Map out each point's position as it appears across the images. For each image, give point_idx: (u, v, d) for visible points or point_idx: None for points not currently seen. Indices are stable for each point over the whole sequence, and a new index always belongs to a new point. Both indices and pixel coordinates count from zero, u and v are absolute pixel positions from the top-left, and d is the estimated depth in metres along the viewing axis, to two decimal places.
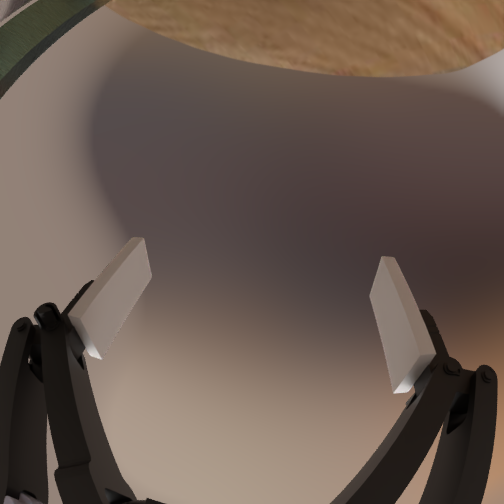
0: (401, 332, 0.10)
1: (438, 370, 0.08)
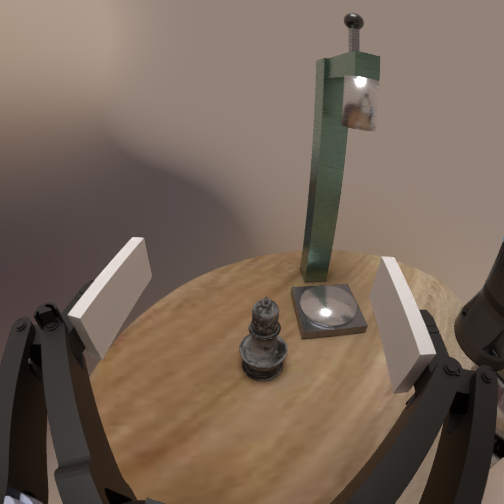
0: (401, 332, 0.10)
1: (438, 370, 0.08)
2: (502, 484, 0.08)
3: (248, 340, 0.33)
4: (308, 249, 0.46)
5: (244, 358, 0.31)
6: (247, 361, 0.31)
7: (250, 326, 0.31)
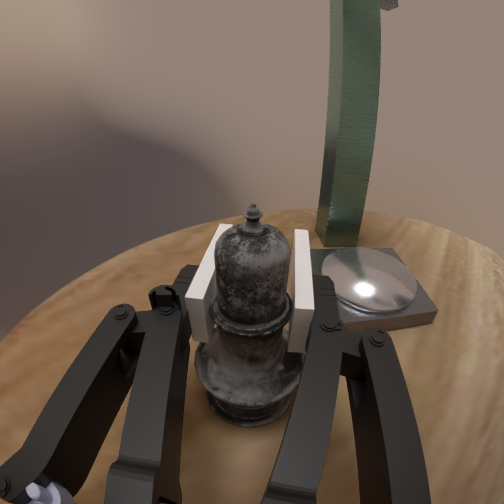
0: (293, 292, 0.12)
1: (315, 331, 0.10)
2: None
3: (216, 338, 0.14)
4: (330, 189, 0.28)
5: (203, 380, 0.13)
6: (209, 387, 0.12)
7: (214, 300, 0.12)
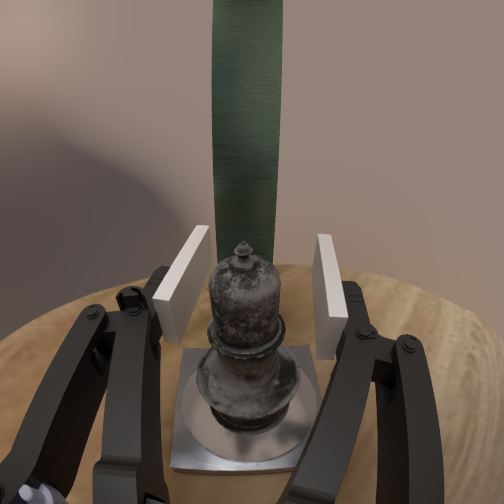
0: (322, 299, 0.12)
1: (350, 337, 0.09)
2: None
3: (216, 354, 0.15)
4: None
5: (204, 394, 0.13)
6: (210, 402, 0.13)
7: (211, 324, 0.13)
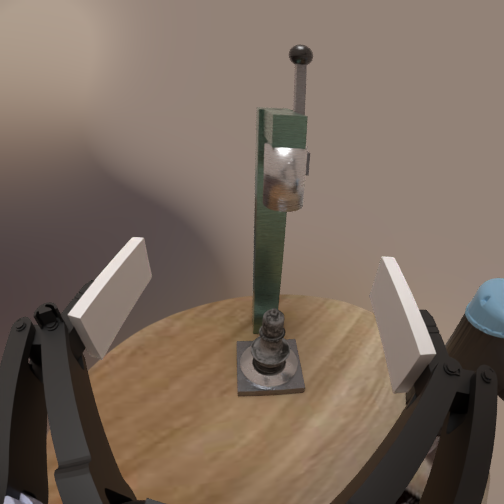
0: (401, 332, 0.10)
1: (438, 370, 0.08)
2: None
3: (258, 342, 0.40)
4: (254, 305, 0.46)
5: (255, 356, 0.38)
6: (257, 359, 0.38)
7: (260, 330, 0.38)
